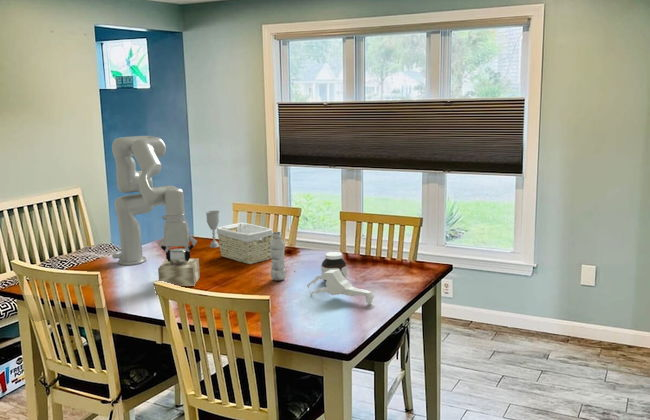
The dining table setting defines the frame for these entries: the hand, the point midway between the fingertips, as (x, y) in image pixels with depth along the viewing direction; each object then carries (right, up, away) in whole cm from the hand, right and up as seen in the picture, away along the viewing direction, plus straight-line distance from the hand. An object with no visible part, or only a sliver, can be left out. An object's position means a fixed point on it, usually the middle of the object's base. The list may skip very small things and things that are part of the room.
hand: (178, 260), depth 253 cm
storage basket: (+23, -2, +37) cm, 44 cm away
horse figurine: (+66, -13, -24) cm, 72 cm away
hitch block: (0, -9, +2) cm, 9 cm away
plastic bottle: (+41, -8, +1) cm, 42 cm away
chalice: (+4, +2, +61) cm, 61 cm away
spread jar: (+64, -8, -1) cm, 65 cm away
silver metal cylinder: (0, -8, +1) cm, 8 cm away
